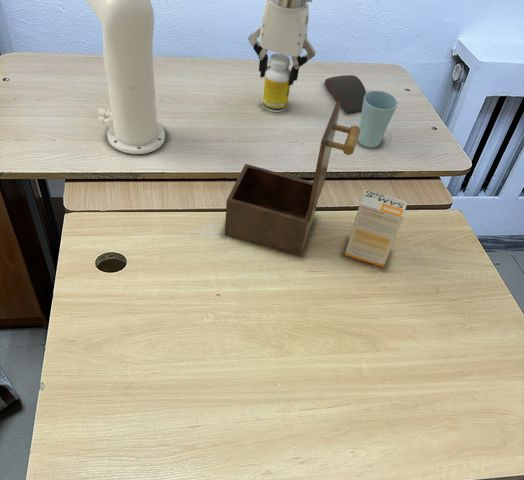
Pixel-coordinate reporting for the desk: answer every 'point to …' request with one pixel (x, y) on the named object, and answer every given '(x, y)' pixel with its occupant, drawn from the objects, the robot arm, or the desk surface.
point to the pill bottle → (276, 83)
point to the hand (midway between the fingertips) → (277, 77)
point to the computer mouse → (347, 92)
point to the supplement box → (375, 228)
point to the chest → (269, 210)
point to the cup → (375, 117)
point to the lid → (325, 154)
